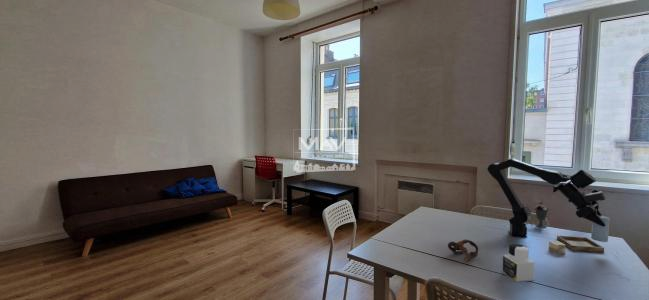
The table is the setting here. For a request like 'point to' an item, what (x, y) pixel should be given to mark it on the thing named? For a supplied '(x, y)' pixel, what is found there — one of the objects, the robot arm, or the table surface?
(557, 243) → the beech cube
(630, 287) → the table surface
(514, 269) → the white stepped box
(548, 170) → the robot arm
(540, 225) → the sundae
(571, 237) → the tray
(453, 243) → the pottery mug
